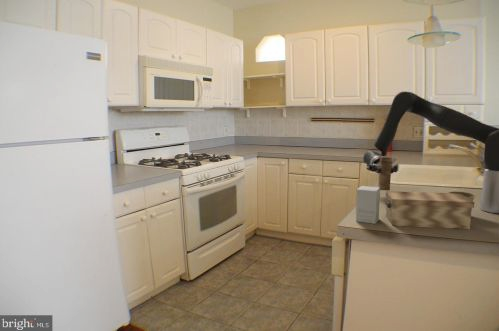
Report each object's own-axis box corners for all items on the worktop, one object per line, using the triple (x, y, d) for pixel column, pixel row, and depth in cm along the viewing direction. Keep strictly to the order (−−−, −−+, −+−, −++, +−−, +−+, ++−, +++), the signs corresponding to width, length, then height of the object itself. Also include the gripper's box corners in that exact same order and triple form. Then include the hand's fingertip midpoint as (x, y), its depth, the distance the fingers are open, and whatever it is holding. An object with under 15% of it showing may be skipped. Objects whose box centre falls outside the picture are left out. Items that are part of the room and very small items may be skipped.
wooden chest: (452, 213, 147) (454, 189, 145) (474, 229, 127) (476, 202, 125) (379, 210, 152) (380, 186, 151) (388, 225, 132) (390, 199, 130)
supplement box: (379, 219, 140) (381, 187, 138) (375, 224, 134) (376, 191, 132) (360, 216, 144) (361, 185, 142) (355, 221, 137) (356, 189, 135)
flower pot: (460, 219, 139) (462, 197, 137) (440, 213, 148) (442, 192, 146) (479, 217, 141) (481, 195, 140) (459, 211, 150) (461, 190, 149)
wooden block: (388, 188, 156) (390, 156, 154) (389, 190, 152) (391, 157, 150) (378, 188, 157) (379, 156, 154) (379, 190, 153) (381, 157, 150)
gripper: (364, 155, 167) (369, 161, 151) (396, 156, 165) (405, 162, 148) (363, 171, 169) (368, 179, 152) (395, 172, 166) (403, 180, 149)
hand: (386, 170), depth 150 cm, fingers closed on wooden block, 4 cm apart
